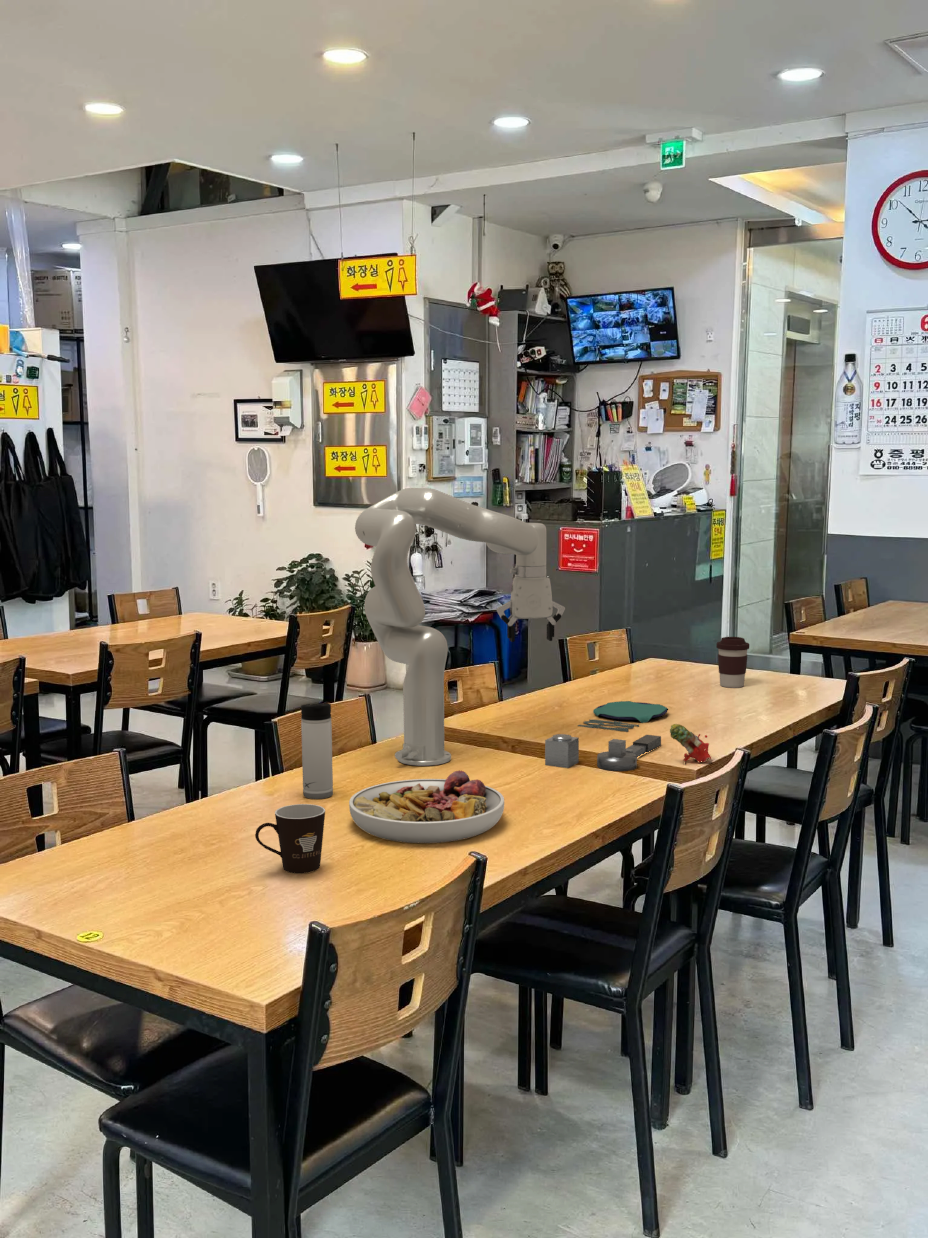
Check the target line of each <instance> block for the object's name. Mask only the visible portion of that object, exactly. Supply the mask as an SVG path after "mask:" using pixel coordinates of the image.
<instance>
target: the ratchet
mask: <svg viewBox="0 0 928 1238" xmlns="http://www.w3.org/2000/svg"><path fill="white" fill-rule="evenodd" d="M626 741H627V740H626V739H618V738H612V739H610V740H609V741H608V744H607V745H608V749H607V751H603V752H602V751H601V752H600V753H597V757H596V760H597V761H596V766H597V767H596V768H598V769H600V770H603V771H608V772H628V771H634V770H635V769H637V767H638V763H637V762H638V759H637V757H638V756H640V755H641V754H644V753H645V752H649V751H651V750H653V749H655V748H656V749H657V747H658V748H659V746H660V747H661V746H662V736H661V735H654V734H653V735H652V734H645V735H643V736H641V737H639V738H638V739H636V740H634V741H633V742H632V744H631V745H630V746H628V747H627V746H626V745H627V743H626ZM656 749H655V750H656ZM653 751H654V750H653ZM651 752H652V751H651Z"/></svg>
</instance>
